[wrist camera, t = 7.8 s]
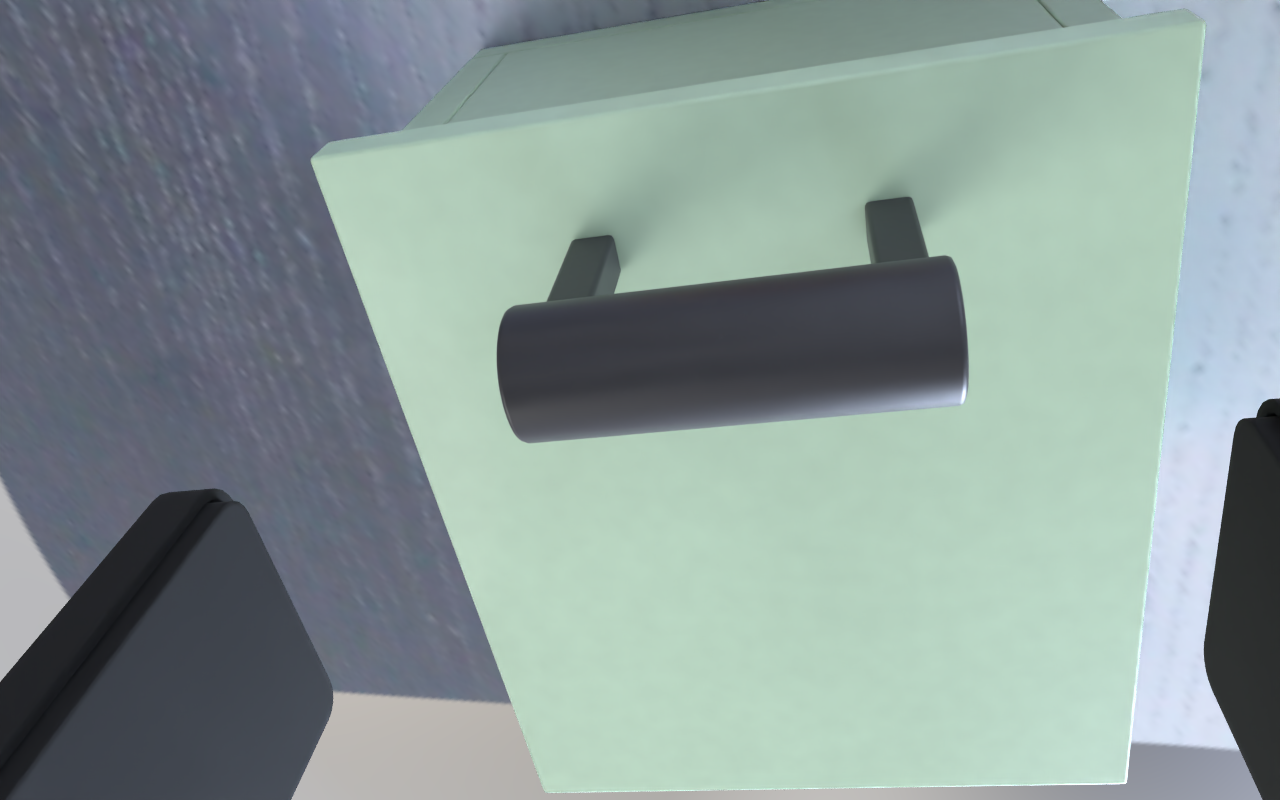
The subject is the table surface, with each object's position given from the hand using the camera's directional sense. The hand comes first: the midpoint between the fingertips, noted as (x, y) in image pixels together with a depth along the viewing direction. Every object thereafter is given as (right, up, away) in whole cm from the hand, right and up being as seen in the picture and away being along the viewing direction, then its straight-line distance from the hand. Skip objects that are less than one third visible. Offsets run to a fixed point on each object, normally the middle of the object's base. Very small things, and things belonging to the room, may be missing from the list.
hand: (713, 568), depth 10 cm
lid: (+2, 0, +9) cm, 9 cm away
